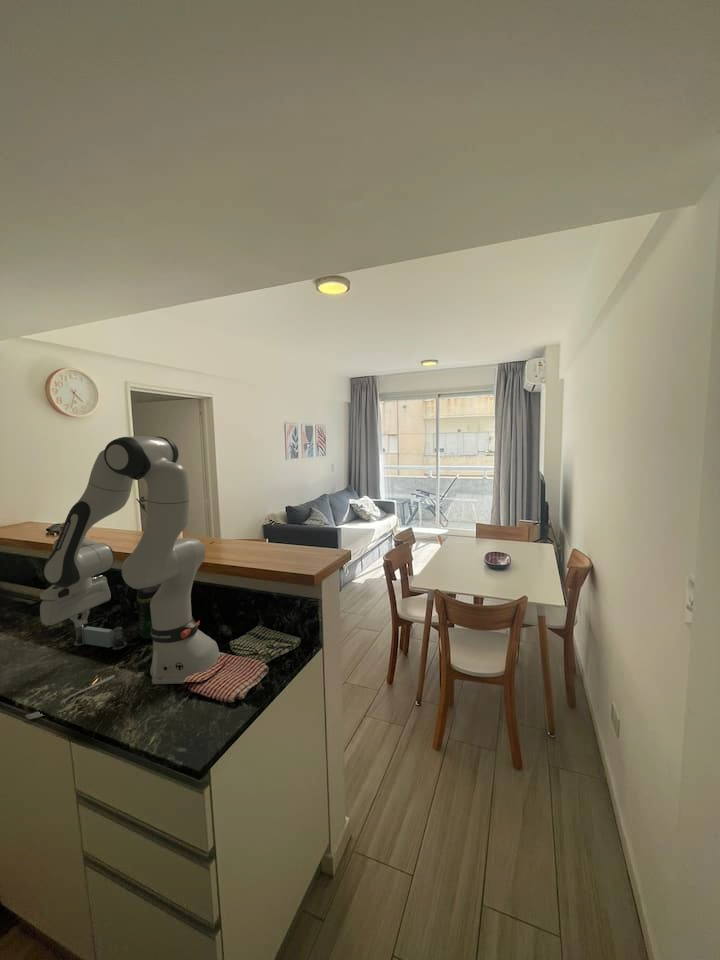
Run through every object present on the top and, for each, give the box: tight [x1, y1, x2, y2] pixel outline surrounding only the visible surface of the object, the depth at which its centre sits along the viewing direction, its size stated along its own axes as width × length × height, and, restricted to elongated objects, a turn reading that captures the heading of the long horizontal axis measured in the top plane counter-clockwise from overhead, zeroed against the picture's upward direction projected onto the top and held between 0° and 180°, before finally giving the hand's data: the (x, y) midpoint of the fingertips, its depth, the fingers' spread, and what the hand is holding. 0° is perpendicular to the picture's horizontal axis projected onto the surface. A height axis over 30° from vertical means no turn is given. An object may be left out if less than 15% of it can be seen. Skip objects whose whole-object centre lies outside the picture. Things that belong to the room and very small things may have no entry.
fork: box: [24, 674, 116, 720], centre depth 105 cm, size 3×24×2 cm, turn 152°
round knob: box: [73, 625, 85, 647], centre depth 133 cm, size 4×4×6 cm
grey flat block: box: [81, 625, 115, 648], centre depth 130 cm, size 12×2×6 cm, turn 74°
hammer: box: [111, 626, 128, 651], centre depth 130 cm, size 7×5×6 cm
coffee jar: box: [136, 583, 161, 640], centre depth 137 cm, size 10×8×19 cm
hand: (81, 625), depth 122 cm, fingers closed
